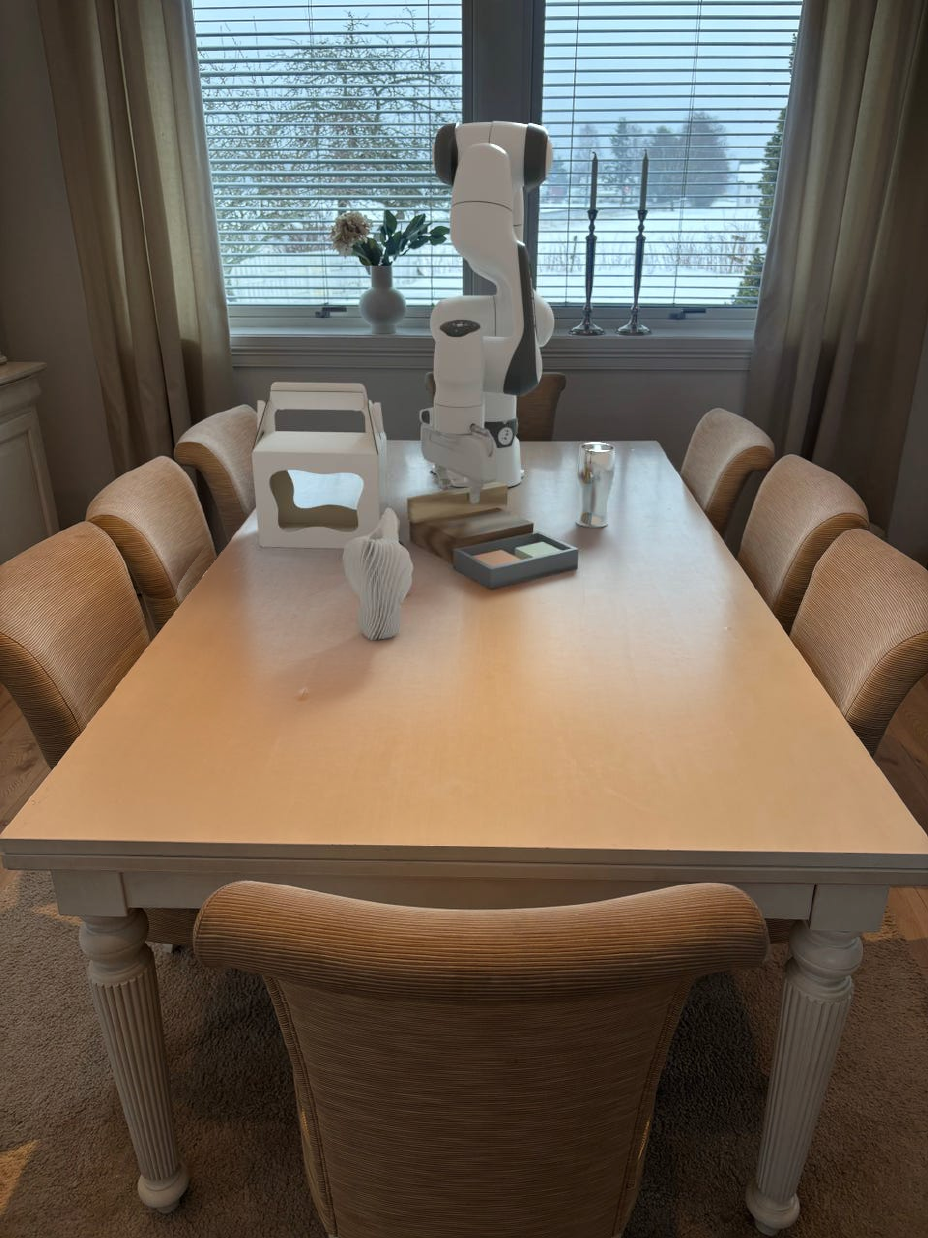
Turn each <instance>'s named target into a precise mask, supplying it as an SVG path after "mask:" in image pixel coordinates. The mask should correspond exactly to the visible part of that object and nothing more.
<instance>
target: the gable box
mask: <svg viewBox="0 0 928 1238" xmlns="http://www.w3.org/2000/svg"><path fill="white" fill-rule="evenodd" d="M381 405H382V404H381V402H380V401H375V402H374V403H373V402H372V400H371V399H369V398H368V392H367V389H366V386H365V385H364V384H363V383H361V382H360V383H359V382H318V381H317V382H314V381H313V382H312V381H310V382H308V381H306V382H305V381H304V382H302V381H300V382H299V381H274V382H273V383H272V384H271V385H270V389H269V397H268V398H267V400H266V401H265V400H263V399H258V400H257V412H256V413H257V416H256V417H257V418H256V421H257V425H256V426H257V432H256V435H255V439H254V442H253V446H252V449H251V460H252V474H253V484H254V495H255V497H254V498H255V505H256V506H255V507H256V509H255V510H256V519H257V520H256V521H257V531H258V532H257V533H258V545H259V547H260V548H279V549H280V548H283V549H284V548H285V549H287V548H289V549H296V548H297V549H328V550H329V549H332V550H333V549H335V550H344V546H345V545H346V544H347V543H348V542H349V541H351V540H353V539H355V538H358V537H363V536H367V535H369V534H371V533H372V532H374V530H376V527H377V531H376V534H377V532H378V524H379V521H380V520H381V518H382V515H384V513H385V510H386V509H387V508H389V496H388V495H389V494H388V491H389V489H388V454H387V453H388V452H387V434H386V432H385V431H384V423H383V415H382V406H381ZM278 410H281V411H284V410H315V411H317V410H323V411H325V410H326V411H328V410H329V411H330V410H332V411H354V412H358V411H360V412H362V414H363V415H364V419H365V420H364V421H365V431H338V430H337V431H336V430H335V431H328V430H322V431H321V430H279V429H278V430H276V418H275V417H276V416H275V415H276V414H275V413H276V412H277V411H278ZM289 471H300V472H305V473H306V472H307V473H311V474H318V475H331V474H332V475H333V474H341V473H342V474H343V473H345V474H348V473H349V474H353V475H357V476H358V477H360V478H361V480H362V482H363V487H362V491H361V493H360V496H359V498H358V500H357V506H356V509H355V508H354V509H353V508H350V507H347V506H345V505H339V504H321V505H318V506H312V507H300V506H297V505H296V502H295V499H294V495H295V487H294V482H293V479H292V477H291V475H290V473H289ZM378 535H379V534H378ZM377 539H378V537H377Z"/></svg>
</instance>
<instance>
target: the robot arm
mask: <svg viewBox="0 0 928 1238" xmlns="http://www.w3.org/2000/svg"><path fill="white" fill-rule="evenodd" d="M431 149H432V150H431V158H432V165H433V168H434V171H435V176H436V178H438V180H440V182H441V183H443V184H445V185H447V186H449V187H450V186H451V187H452V193H451V201H450V210H449V212H450V213H449V214H450V215H449V236H450V241H451V243H452V246H453V248H454V250H455V251H456V252H457V253H458V254H459V255H460V257H462V258H463V260H465V261H467V263H468V266H469V267H470V269H471V270H472V271H473V272H475V273H476V274H477V275H479V276H481V277H482V278H484V279H486V280H488V281H490V282H491V283H493V284H494V285H495V286H496V293H495V294H492V295H458V296H452V297H447V298H443V299H440V300H439V301H438V302H437V303H436V304H435V305H434V307H433V309H432V311H431V314H430V318H429V319H430V320H429V328H430V334H431V335H432V337H433V339H434V341H435V346H434V354H433V379H434V382H435V394H434V397H433V406H432V407H428V408H425V409H420V411H419V415H418V416H419V422H421V423H422V424H421V425H420V426H421V427H420V449H421V453H422V457H423V459H424V460H425V461H427V462H430V463H432V464H433V465H432V466H431V472H433V473H434V474H435V473H436V477H437V480H438V488H439V489H441V490H444V491H445V490H446V491H447V490H451V486H453V487H456V488H457V487H458V488H467V487H471V489H470V492H467V501H468V502H470V503H472V504H473V503H478V502H479V495H480V492H481V490H482V488H483V486H484V484H490V483H496V482H502V483H504V484H507V485H508V488H510V487H513V486H517V485H518V484H520V483H521V482H522V478H523V477H524V476H525V470H524V469H522V467H521V466H522V465H521V464H522V463H521V447H520V446H521V445H520V440H519V439H518V438H517V436H516V435H518V430H519V429H518V428H519V422H518V417H517V397H525V396H526V395H527V394H529V393H530V392H532V391H533V390H534V389H535V388H536V387H538V386H539V384H540V383H541V381H540V380H541V378H542V373H543V359H542V354H541V353H542V352H541V349H540V348H543V347H545V345H547V343H548V342H549V341H550V339H551V337H552V335H553V333H554V329H555V315H554V312H553V310H552V308H551V306H550V304H549V303H548V302H547V301H546V300H545V299H544V298H543V297H542V296H541V295H540V294H539V293H538V292H537V291H536V289H534V283H533V274H532V273H533V272H532V267H531V266H532V265H531V259H530V255H529V254H530V253H529V252H528V248H527V246H526V244H525V243H524V222H525V221H524V217H525V214H524V213H525V210H524V209H525V208H524V206H525V205H524V191H523V190H524V189H523V188H525V190H526V191H525V192H526V193H527V194H529V193H531V192H532V189H535V188H537V187H539V186H541V185H542V184H543V183H544V182H545V181H546V180H547V179H548V175H549V174H550V171H551V169H552V165H553V159H554V147H553V143H552V139H551V137H550V132H548V130H547V128H545V127H544V126H542V125H539V124H535V123H531V122H529V123H528V124H524V123H518V122H512V121H505V120H504V121H502V120H501V121H499V120H493V121H491V122H490V121H484V122H483V121H481V122H480V121H479V122H470V123H469V122H468V123H461V124H460V123H459V122H453V123H449V124H445V125H442V127H441V128H440V129H439V130H438V131H437V132H436V135H435V139H434V141H433V145H432V148H431Z"/></svg>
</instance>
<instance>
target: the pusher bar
mask: <svg viewBox="0 0 928 1238" xmlns="http://www.w3.org/2000/svg"><path fill="white" fill-rule="evenodd" d="M470 489H471V487H461V488H457V489H452V490H451V489H449V490H446V491H445V490H444V491H440V492H434V493H427V494H423V495H417V496H412V497H411V496H410V497H407V498H406V499H407V500H406V510H407V512H406V513H407V514H406V515H407V516H406V517H407V518H406V519H407V521H408V522H409V521H411V522H412V523H414V524H415V523H420V522H426V521H431V520H436V519H441V518H446V517H452V516H457V515H462V514H467V513H472V512H478V511H483V510H488V509H493V508H502V507H508V490H509V487H508V485H507V484H504V483H502V482H496V483H490V484H484V486H483V488H482V490H481V492H480V495H479V502H478V503H473V504H472V503H470V502H468V501H467V492H470Z"/></svg>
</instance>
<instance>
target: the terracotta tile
mask: <svg viewBox="0 0 928 1238" xmlns="http://www.w3.org/2000/svg"><path fill="white" fill-rule="evenodd" d="M473 557H475V558H477V559H479V560H480V561H482V562H484V563H486V564H488V565H490V566H492V567H494V566H498V565H503V564H507V563H511V562H516V561H520V560H521V559H519V558H517V557H515V556H513V555H511V554H509V553H507V552H505V551H503V550H499V551H494V552H490V553H485V554H481V555H476V556H473Z"/></svg>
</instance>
